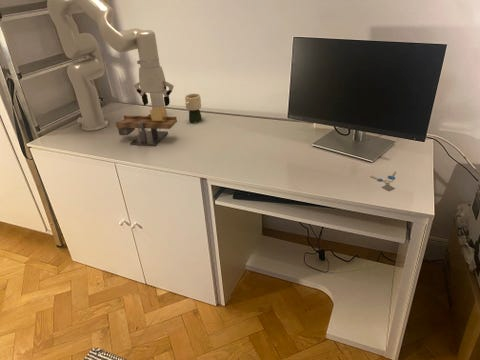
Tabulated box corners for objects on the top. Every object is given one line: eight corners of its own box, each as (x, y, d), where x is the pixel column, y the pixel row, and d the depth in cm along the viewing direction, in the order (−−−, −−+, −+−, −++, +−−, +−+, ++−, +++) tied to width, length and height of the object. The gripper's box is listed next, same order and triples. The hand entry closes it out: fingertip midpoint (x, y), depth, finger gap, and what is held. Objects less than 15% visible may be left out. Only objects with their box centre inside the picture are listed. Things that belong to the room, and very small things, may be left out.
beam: (118, 135, 164) (115, 122, 161) (127, 128, 171) (124, 115, 168) (171, 137, 159) (168, 123, 156) (178, 130, 166) (176, 116, 163)
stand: (130, 145, 162) (125, 124, 157) (144, 132, 174) (140, 113, 169) (155, 146, 159) (151, 125, 155) (168, 133, 171) (165, 113, 166)
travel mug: (165, 118, 189) (159, 79, 179) (152, 119, 189) (145, 79, 179) (167, 114, 194) (161, 75, 184) (155, 114, 194) (148, 76, 184)
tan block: (152, 124, 159) (149, 111, 156) (157, 120, 164) (154, 107, 161) (163, 124, 158) (160, 111, 155) (167, 120, 163) (165, 107, 160)
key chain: (394, 193, 119) (395, 191, 118) (368, 189, 121) (368, 187, 121) (396, 172, 130) (396, 170, 129) (371, 169, 133) (371, 167, 132)
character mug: (196, 116, 188) (193, 91, 182) (207, 118, 185) (205, 93, 178) (183, 124, 180) (179, 98, 174) (194, 126, 177) (191, 99, 171)
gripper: (125, 65, 147) (133, 107, 156) (166, 66, 143) (172, 108, 152) (134, 61, 153) (141, 101, 162) (173, 61, 150) (178, 102, 158)
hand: (156, 104), depth 157 cm, fingers open, 9 cm apart
